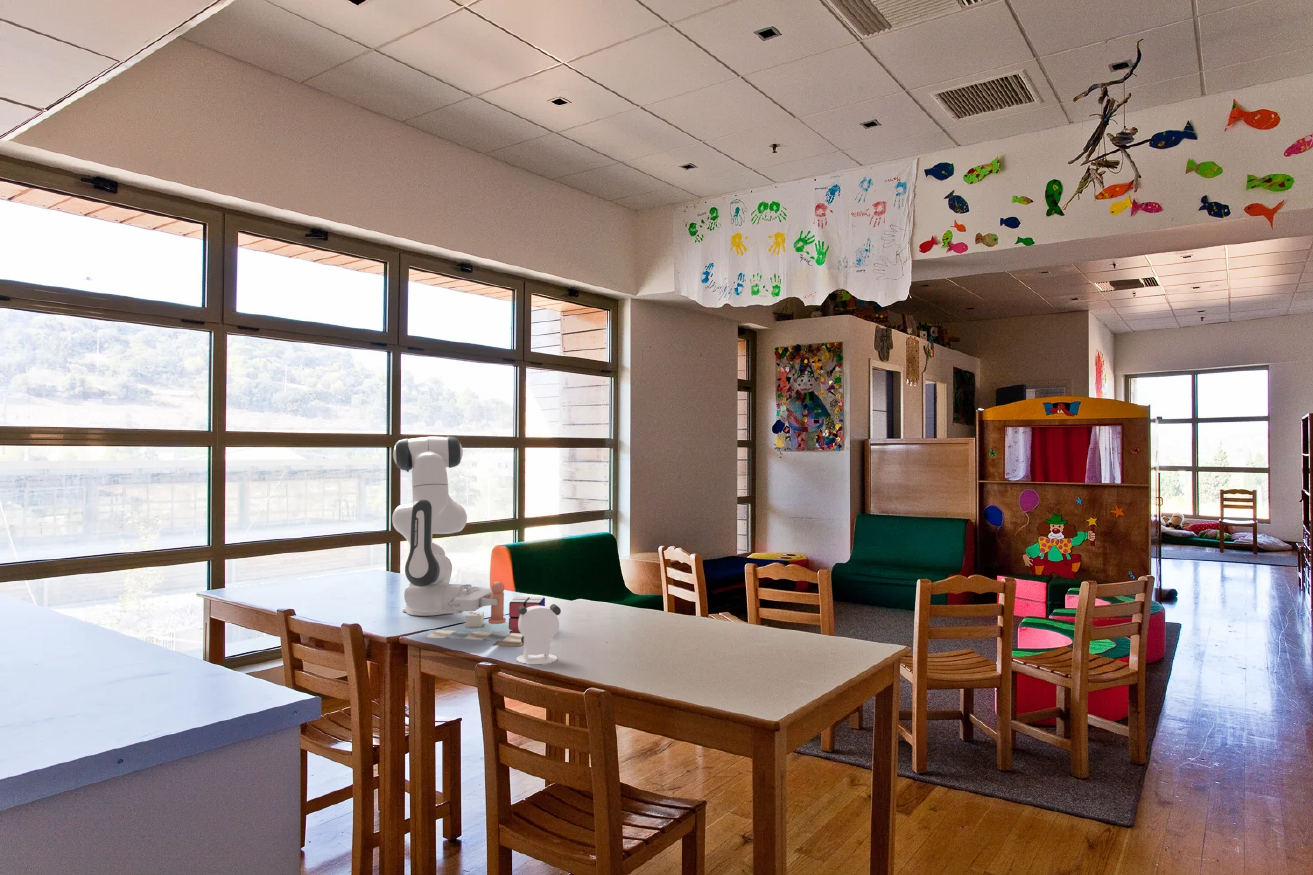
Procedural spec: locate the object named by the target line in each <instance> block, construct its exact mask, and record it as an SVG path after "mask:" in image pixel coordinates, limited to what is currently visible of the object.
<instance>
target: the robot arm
mask: <svg viewBox="0 0 1313 875" xmlns="http://www.w3.org/2000/svg"><path fill="white" fill-rule="evenodd" d="M463 454H464V450H463V446H462V443H461V442H460V440H459V439H458V438H457V437H455V436H434V435H431V436H429V435H427V436H421V437H415V438H414V437H413V438H403V439H399V440H397V442H395V445H394V448H393V452H392V458H393V460H394V463H395V464H396V467H397V468H398V469H400V470H402V471H405V472H407V473H409V472H410V471H411V483H412V484H411V485H412V502H410V503H405V504H400V505H398V506H397V507H396V508H395V509H394V510H393V513H392V517H391V520H392V521H391V522H392V525H393V527H394V529H395V530H396V531H397V533H400V535H402V536H403V537H404V538H405V539H406V541H407V543H408V545H409V554H408V557H407V559H406V562H405V566H404V574H405V576H406V578H407V581H408V582H409V584H408V585H407V586H405V588H404V592H403V593H404V601H405V603H406V604H405V607H403V608H402V611H401V612H404V613H406V614H408V615H410V616H419V617H421V616H423V617H424V616H426V617H428V616H440V615H448V614H462V613H463V612H475V611H478V610H479V609H481V608H483V607H489V606H491V605H497V604H498V599H494V598H493V599H491V593H492V590H491V587H483V586H472V584H468V583H467V584H462V583H461V584H460V583H459V584H458V583H450V582H451V577H452V570H453V565H452V562H451V559H449V557H448V556H446V552H445V550H444V548H443V547H442V546H440V545H439V544H436V543H434V542H433V535H445V534H447V535H450V534H454V533H459V532H461V531H463V529H464V528H465V527H466V524H467V522H468V520H467V519H468V514H467V512H466V510H465V508H464V506H462V505H460V504H459V503H457V502H456V501H455V500H454V499H453V498H451V496H450V494H449V493H450V492H449V478H448V473H447V468H448V469H451V468H452V469H453V468H455V467H458V466H459V465H460V464H461V461H462V458H463Z"/></svg>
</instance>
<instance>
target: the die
mask: <svg viewBox="0 0 1313 875" xmlns="http://www.w3.org/2000/svg"><path fill="white" fill-rule="evenodd" d="M467 612H468V613H466V615H465V627H466V628H474V627H475V628H477V627H478V628H479V627H480V628H481V627H482V626H484V623H485V622H484V621H485V620H484V618H485V616H484V615H485V612H482V611H481V612H475V611H467Z"/></svg>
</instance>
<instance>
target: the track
mask: <svg viewBox="0 0 1313 875" xmlns="http://www.w3.org/2000/svg"><path fill="white" fill-rule="evenodd" d="M522 636H523V635H522V634H521V633H509V632H500V631H498V632H497V631H493V632H492V631H474V630H473V631H472V630H453V629H452V630H450V629H437V630H435V631H434V632H432V633H430V634H429V635H427V636H425V638H428V639H447V640H449V639H451V640H473V641H496V642H494V643H493V644H492V646H508V647H522V645H524V644H523V643H522V641H521V638H522Z"/></svg>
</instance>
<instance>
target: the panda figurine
mask: <svg viewBox="0 0 1313 875" xmlns="http://www.w3.org/2000/svg"><path fill="white" fill-rule="evenodd" d="M518 612H519V613H520V617H519V620H518V629H519V631H520V633H521V634H522V635H523V636H522V638H521V641H522V643H523V644H522V645H523V651H522V652H523V653H522V654H521V655H518V656H516V658H515V660H516V662H517V661H518V662H517V663H519V662H521V663H520V664H522V663H528V664H542V665H549V664H552V662H553V663H555V662H556V661H557V660H558V657H557V656H556V655H554V654H552V653H550V648H551V640H552V639H553V638H554V637H555V636H556V635H557V633H558V632H559V629H560V621H559V618H558V616H560V614H561V612H562V610H561V608H560V607H559V606H558V605H556V604H555V603H553V604H551V605H550V606H549V607H548V606H546V605H545V606H531V607H528V608H525V607H524V606H519V607H518ZM548 663H549V664H548ZM528 664H527V665H528Z"/></svg>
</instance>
